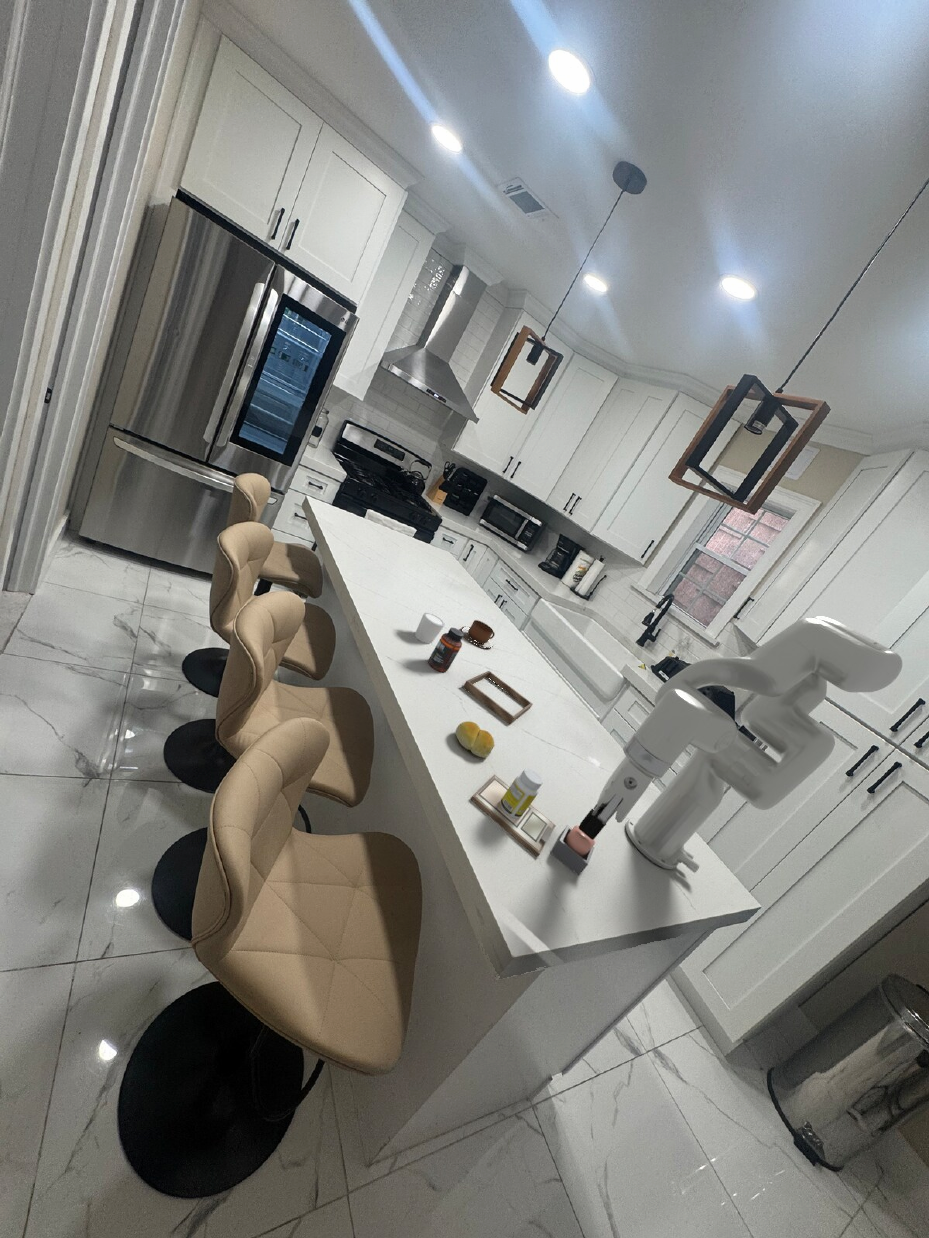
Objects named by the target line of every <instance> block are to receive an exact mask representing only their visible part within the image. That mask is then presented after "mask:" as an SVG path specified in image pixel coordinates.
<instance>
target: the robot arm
mask: <svg viewBox="0 0 929 1238" xmlns="http://www.w3.org/2000/svg"><path fill="white" fill-rule="evenodd" d="M902 668H903V659H902V657H901V656H900V655H899V654H898V652H896V651H894V650H892V649H890V648H889V647H888V646H885V645H883V644H881V643H880V642H877V641H876V640H874V639H871V638H870V637H868V636H866V635H865V634H863V633H861V632H859V631H857V630H855V629H854V628H851V627H849V626H848V625H846V624H844V623H842V622H840V621H837V620H835V619H832V618H830V617H827V616H818V615H817V616H813V617H811V618H809V617H807V618H806V617H805V618H802V619H799V620H797V621H795V622H793V623H792V624H790V625H789V626H787V627H786V628H784V629H783V630H781V631H780V632H779V633H777V634H776V635H774V636H773V637H771V638H770V639H769V640H767V641H766V642H764V643H763V644H762V645H760V646H759V647H757V648H756V649H755V650H754V651H752V652H751V653H749V654H747V655H746V656H723V657H715V658H708V659H703V660H699V661H696V662H694V663H692V664H689V665H688V666H686V667H684V668H683V669H682V670H680V671H679V672H678V673H676V674H675V675H673V676H672V677H670V678H669V679H668V680H667V681H666V682H665V683H663V684H662V685H661V686H660V687H659V688H658V690H657V692H656V694H655V695H654V699H653V700H654V701H653V702H654V707H653V709H652V710H651V711H650V713H649V714H648V716H646V718H645V719H644V720H643V722H642V723H641V724H640V726H639V727H638V728H637V729H636V730H635V732H634V733H633V734H632V735H631V737H630V738H629V739H628V741H627V742H626V744H625V745H624V746H623V748H622V751H623V753H624V755H625V757H624V758H623V759H622V760H621V761H620V763H618V765H617V766H616V768H615V770H614V771H613V772H612V773H611V775H610V776H609V778H608V780H607V782H606V783H605V785H604V786H603V788H602V790H601V792H600V795H599V797H598V799H597V802H596V804H595V806H594V807H593V808H591V809H590V810H589V812H588V813H587V814H586V815H585V817H584V818H583V819H582V821H581V822H580V824H579V825H578V826H579V829H580V830H581V831H582V832H583V833H584V834H586V835H587V836H588V837H589V838H590V839H592V840H593V839H594V840H595V838H597V836H598V835H599V833H601V831H602V830H603V829H604V828H605V826H606V825H607V823H608V822H609V820H611V818H612V817H613V816H614V815H615V820H616V822H617V823H622V822H624V820H625V819H626V817H627V816H628V815H629V813H630V812H631V811H632V809H633V808H634V806H635V805H636V803H638V801H639V800H640V799H641V798H642V797H643V795H644V793H645V792H646V791H647V789H648V788H649V786H650V784H651V783H652V781H653V780H654V779H658V780H660V779H662V778H663V776H664V775H665V774H666V773H667V771H668V770H670V768H671V767H672V766H673V764H674V763H675V762H676V761H677V759H678V758H679V757H680V756H681V755H682V754H683V752H684V751H685V749H687V747H688V746H689V745H690V746H693V747H694V750H693V751H692V753H691V755H690V756H689V757H688V759H687V760H686V762H685V763H684V765H682V768H680V770H679V771H678V772H677V773H676V775H675V776H674V777H673V778H672V779H671V781H669V783H668V784H667V786H666V787H665V788H664V789H663V790H662V791H661V793H660V794H659V795H658V796H657V797H656V799H655V800H654V801H653V802H652V804H650V806H649V807H648V808H647V810H646V811H644V813H643V814H642V815H641V817H640V818H637V817H632V818H631V817H630V818H629V819H628V820H627V821H626V823H625V830H626V833H627V836H628V837H629V839H630V841H631V842H632V844H633V845H634V846H635V847H636V848H637V850H638V851H639V852H640V853H642V854H643V855H644V856H645V857H646V859H648V860H649V861H651V862H652V863H654V864H655V865H657V866H658V867H661V868H663V869H666V870H674V869H676V868H677V867H678V865H679V864H681V863H682V864H683V865H685V866H686V867H687V869H689V870H690V871H691V872H693V873H697V872H698V870H699V868H700V864H698V863H697V861H695V860H694V855H692V854H691V853H690V852H689V851H687V850H686V849H685V844H686V843H688V842H689V840H690V839H691V837H692V836H694V834H695V833H696V832H697V831H698V830H699V829H700V827H702V825H703V824H704V823H705V822H706V821H707V820H708V818H709V817H711V815H712V814H713V812H715V811H716V810H717V809H718V808H719V806H720V805H721V803H722V800H723V798H724V793H725V790H724V789H725V783H726V784H727V785H728V786H729V787H730V788H731V789H732V790H734V792H736V793H737V794H738V795H739V796H740V797H741V798H743V800H745V801H746V802H747V803H748V804H750V805H751V806H752V807H753V808H755V809H758V810H759V811H760V810H761V811H766V810H770V809H772V808H773V807H775V806H777V805H778V804H780V802H782V801H783V800H784V799H785V798H787V796H788V795H789V794H791V792H793V791H794V790H795V789H796V788H797V787H799V785H800V784H802V783H803V782H804V781H805V780H806V779H808V778H809V777H810V776H811V775H812V774H813V773H814V772H815V771H816V770H818V768H819V767H821V765H823V763H824V762H825V761H826V760H827V759H828V758H829V757H830V756H831V754H832V752H833V751H834V749H835V745H836V740H835V737H834V735H833V733H832V732H831V730H829V729H828V728H827V727H826V726H825V725H823V724H822V723H820V722H819V721H818V720H816V719H815V718H813V717H812V716H811V715H810V714H811V713H812V712H813V711H814V710H815V709H816V708H817V707H818V706H819V705H820V704H822V703H823V702H824V701H825V699H826V697H827V692H828V691H827V690H828V683H830V684H832V685H833V686H835V687H837V688H838V689H839V690H842V691H844V692H847V693H874V692H878V691H880V690H883V689H885V688H887V687H888V686H890V685H891V684H892V683H893V682H894V681H895V680H896V679H897V678H898V676H899V675H900V674H901V671H902ZM827 682H828V683H827ZM709 686H723V687H729V688H734V689H736V690H741V691H745V692H748V693H751V694H755V695H757V696H756V697H755V698H753V699H752V700H751V701H750V702H749V703H748V704H747V705H746V707H745V708H744V709H743V710H742V711H741V715H740V721H741V723H742V725H743V726H744V727H745V729H747V731H749V732H750V733H751V734H752V735H753V736H754V737H755V738H757V739H758V740H759V741H761V742H762V743H763V744H764V745H765V746H767V748H769V749H771V751H773V752H775V754H777V755H778V756H779V757H780V759H781V760H780V761H777V760H776V759H774V758H773V757H772V756H771V755H769V754H768V753H767V752H766V751H764V749H762V748H761V747H760V746H759V745H758V744H756V743H755V742H754V741H752V740H751V739H750V738H749V737H748V736H747V735H745V734H744V733H742V732H741V731H740V730H738V729H737V728H738V727H737V724H736V722H735V720H734V719H733V718H732V717H731V716H730V715H729V714H728V713H727V712H726V711H724V710H723V709H722V708H720V706H718V705H717V704H716V703H714V702H713V701H712V700H711V699H710V698H709V697H707V696H706V695H704V694H703V693H702V692H701V691H700V690H699V689H701V688H704V687H709ZM615 813H616V814H615Z"/></svg>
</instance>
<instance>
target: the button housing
mask: <svg viewBox="0 0 929 1238" xmlns="http://www.w3.org/2000/svg"><path fill="white" fill-rule="evenodd" d="M572 829H573V828H571V827H570V826H569V825H566V827H565V828H564V829H563V830H562V831H561V833H560V834H559V835H558V837H557V839H556V841H555V843H554V845H553V847H552V848H551V851H550V853H551V855H553V856H555V857H556V858H557V859H558V860H559V861H561V862H562V863H563V864H564V865H565V866H566V867H567V868H568V869H570V871H572V872H573V873H575V874H576V875H577V876H578V877H579V876H580V875H581V874H582V873H583V871H584V870H585V869H586V867H587V866H588V865H589V863H590V860H591V858H592V855H593V852H594V851H595V846H593V847H592V848H591V849H590V850H589V852H588V853H587V854H586V855H585V857H583V858H582V857H581V856H580V855H579V854H578V853H576V852H575V851H574V850H573V849H572V848H570V847H569V846H568V845H567V844H566V843H565V838H566V837H567V835H568V834H569V833H570V831H571V830H572Z"/></svg>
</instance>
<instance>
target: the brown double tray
mask: <svg viewBox="0 0 929 1238" xmlns="http://www.w3.org/2000/svg"><path fill="white" fill-rule="evenodd" d="M509 787H510V786H509V785H508V784H507V783H505V782H504V781H503V780H502V779H501V778H500V777H498V776H497V775H496V774H495V773H494V774H493V775H492V776H491V777H490V778H489V779H488V780H487V781H486V782H485V783H484V784H483V785H482V786H481V787H480V788H479V789H477V791H476V792H475V793H474V794H473V795H472V796H471V797H470V800H471V801H472V802H473V803H474V804H475V805H476V806H478V807H479V808H480V809H481V810H483V811H484V813H486V814H487V815H488V816H489V817H490V818H491V819H493V820H494V821H495V822H496V823H497V824H498V825H500V826H501V827H502V828H503V829H504V830H505V831H506V832H508V834H510V835H511V836H512V837H514V839H515V840H517V841H519V843H520V844H521V845H523V846H524V847H525V848H526V849H527V850H528V851H530V853H532V854H533V855H534V856H535V857H536V858H538V857H539V856H540V855H541V853H542V852H543V850H544V848H545V845H546V844H547V842H548V840H549V839H550V838H551V837H550V836H551V835H552V833H553V832H554V830H555V828H556V826H557V825H556V824H555V823H553V822H552V821H551V820H550V819H549V818H548V817H546V816H545V815H544V814H543V813H541V812H540V811H539V810H538V809H537V808H536V807H534V806H533V804H532V803H531V804H530V806H529V807H528V808H527V810H526V811H525V813H524V814H523V815H522V817H521V818H518V819H516V818H513V817H510V816H509V815H507V814H506V813H505V812H504V811H503V810H502V808H501V805H500V801H501V799H502V798H503V796H504V795H505V793H506V792H507V790H508V789H509Z"/></svg>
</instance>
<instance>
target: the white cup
mask: <svg viewBox="0 0 929 1238" xmlns="http://www.w3.org/2000/svg"><path fill="white" fill-rule="evenodd" d="M444 627H445V622H444V620H442V619H441V618H440V617H438V616H437V615H434V614H433V613H430V612H424V613H423V615H422V617H421V618H420V621H419V624H418V625H417V628H416V631H415V633H414V636H415V638H416V639H417V640H419V641H420V642H422V643H424V644H426V643H428V644H427V645H431V644H433V642H434V641H435V640H436V639H437V637H438V635H439V634H440V633H441V631H442V630H443V628H444ZM430 643H431V644H430Z"/></svg>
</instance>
